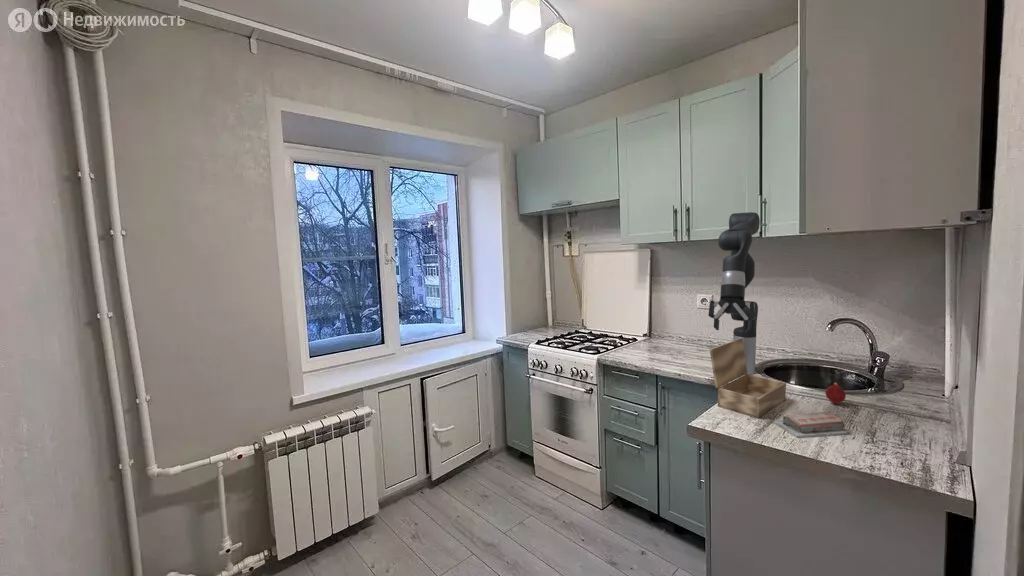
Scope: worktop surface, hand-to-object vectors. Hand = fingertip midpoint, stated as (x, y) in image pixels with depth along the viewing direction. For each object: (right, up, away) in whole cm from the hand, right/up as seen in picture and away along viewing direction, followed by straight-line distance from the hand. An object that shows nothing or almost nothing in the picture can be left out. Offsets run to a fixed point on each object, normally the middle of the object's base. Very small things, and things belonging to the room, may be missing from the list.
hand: (730, 330), depth 140 cm
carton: (+15, -29, +12) cm, 35 cm away
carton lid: (+9, -14, +17) cm, 24 cm away
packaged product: (+21, -32, -9) cm, 39 cm away
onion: (+44, -28, +10) cm, 54 cm away
